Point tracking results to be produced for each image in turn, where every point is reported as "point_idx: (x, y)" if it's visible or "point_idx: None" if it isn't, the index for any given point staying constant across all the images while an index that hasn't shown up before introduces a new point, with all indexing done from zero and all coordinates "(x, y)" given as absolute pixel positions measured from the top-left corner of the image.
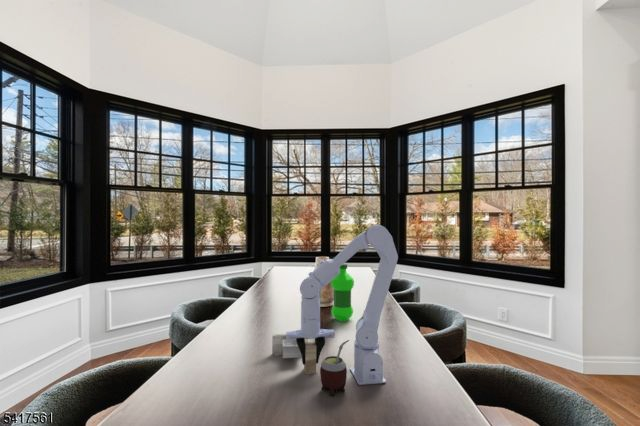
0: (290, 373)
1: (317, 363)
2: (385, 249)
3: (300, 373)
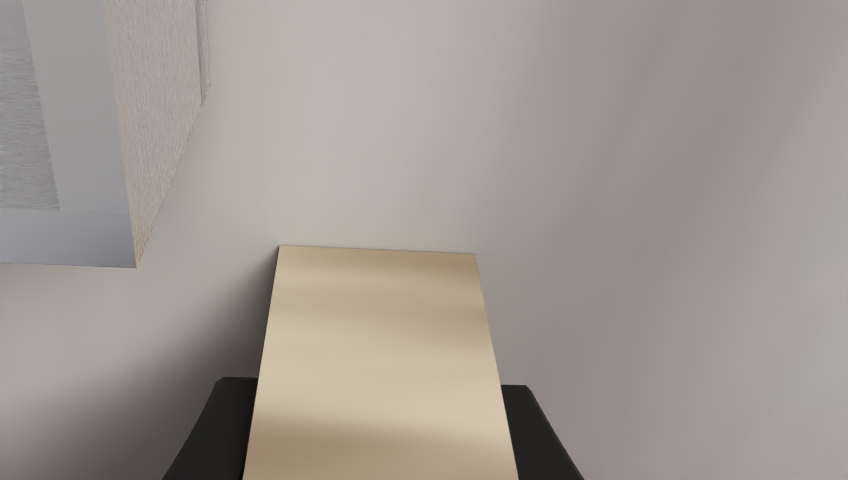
0: (27, 343)
1: None
2: None
3: (201, 366)
